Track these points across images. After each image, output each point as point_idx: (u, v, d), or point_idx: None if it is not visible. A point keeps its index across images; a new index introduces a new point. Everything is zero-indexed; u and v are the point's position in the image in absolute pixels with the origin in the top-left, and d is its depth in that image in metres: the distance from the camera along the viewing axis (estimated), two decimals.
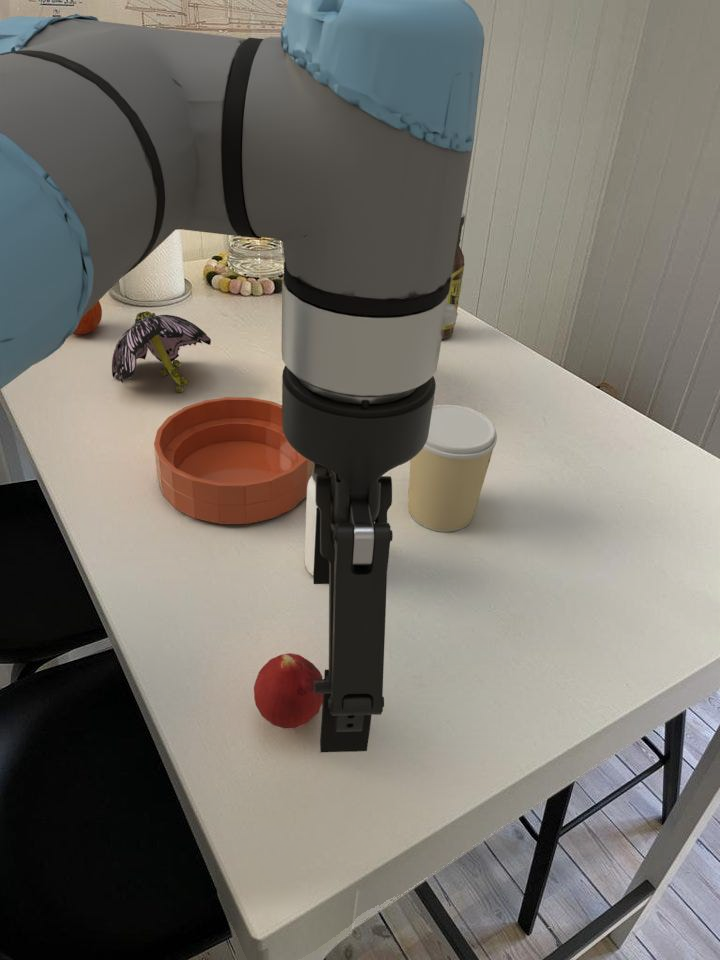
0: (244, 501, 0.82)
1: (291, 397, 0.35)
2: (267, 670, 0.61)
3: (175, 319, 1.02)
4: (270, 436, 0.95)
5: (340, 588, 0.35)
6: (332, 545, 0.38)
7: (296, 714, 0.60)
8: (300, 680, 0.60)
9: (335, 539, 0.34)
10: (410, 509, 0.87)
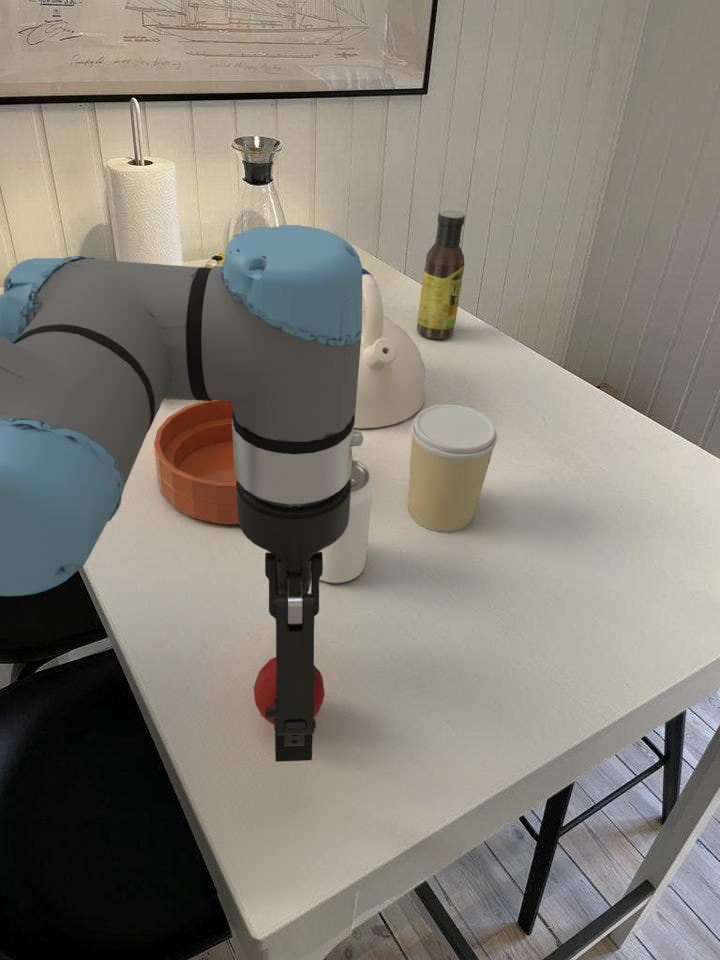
0: None
1: (242, 501, 0.48)
2: (267, 670, 0.61)
3: None
4: None
5: (279, 642, 0.48)
6: None
7: None
8: None
9: (274, 606, 0.47)
10: (410, 509, 0.87)
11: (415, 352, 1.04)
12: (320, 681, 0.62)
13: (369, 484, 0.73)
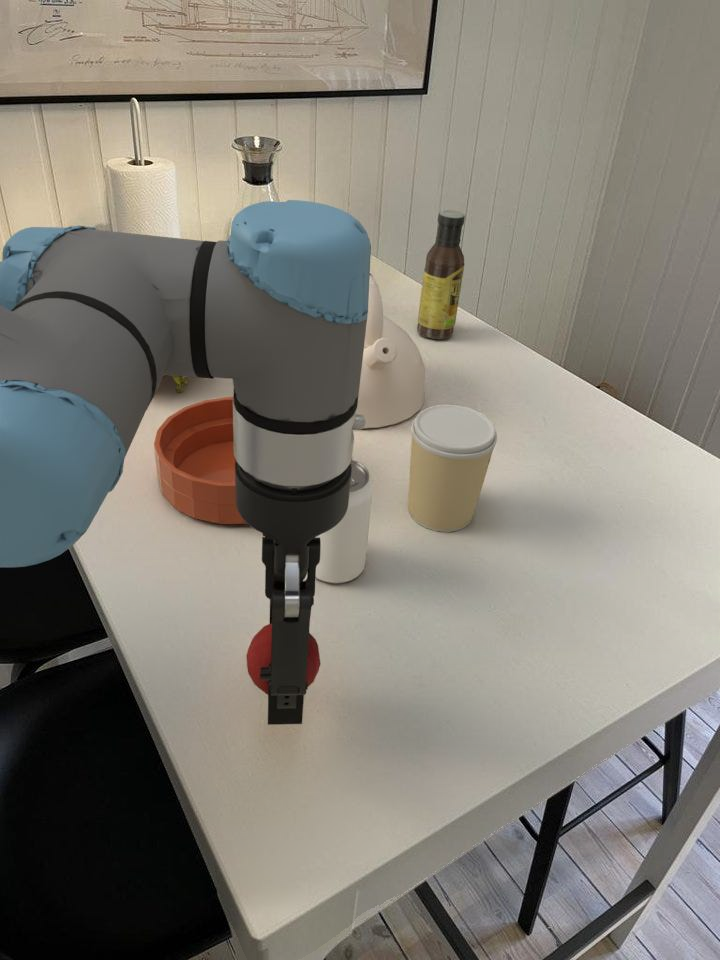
0: None
1: (240, 483, 0.47)
2: (261, 637, 0.58)
3: None
4: None
5: (275, 630, 0.49)
6: (273, 589, 0.51)
7: None
8: None
9: (271, 605, 0.47)
10: (410, 509, 0.87)
11: (415, 352, 1.04)
12: (316, 649, 0.59)
13: (369, 484, 0.73)
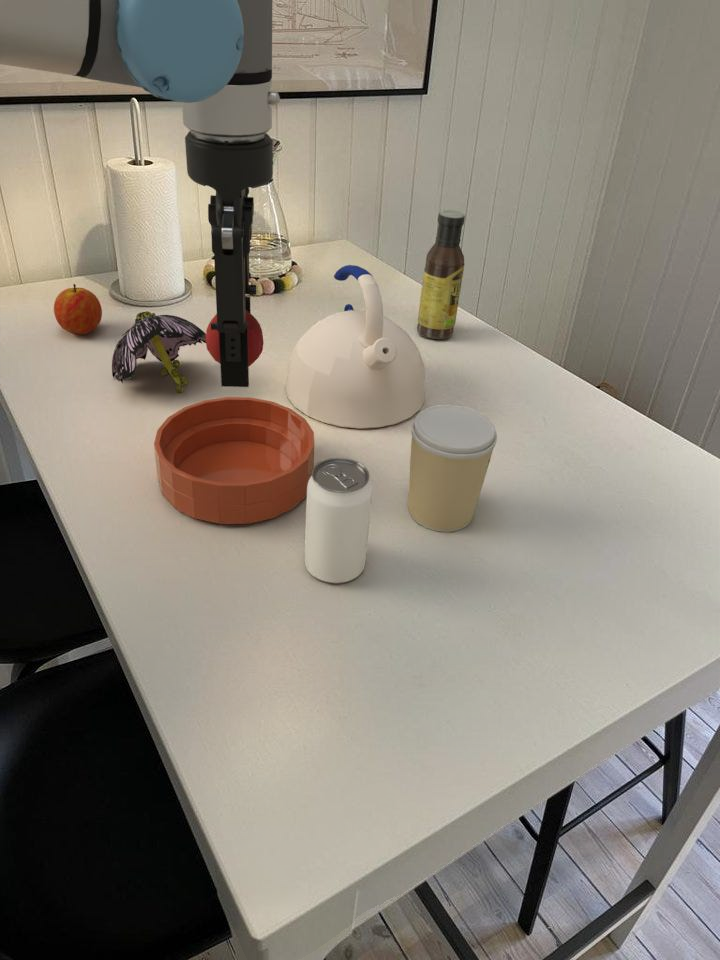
0: (244, 501, 0.82)
1: (188, 144, 0.64)
2: (215, 315, 0.75)
3: (175, 319, 1.02)
4: (270, 436, 0.95)
5: (217, 262, 0.65)
6: None
7: None
8: None
9: (212, 234, 0.64)
10: (410, 509, 0.87)
11: (415, 352, 1.04)
12: (259, 328, 0.76)
13: (369, 484, 0.73)
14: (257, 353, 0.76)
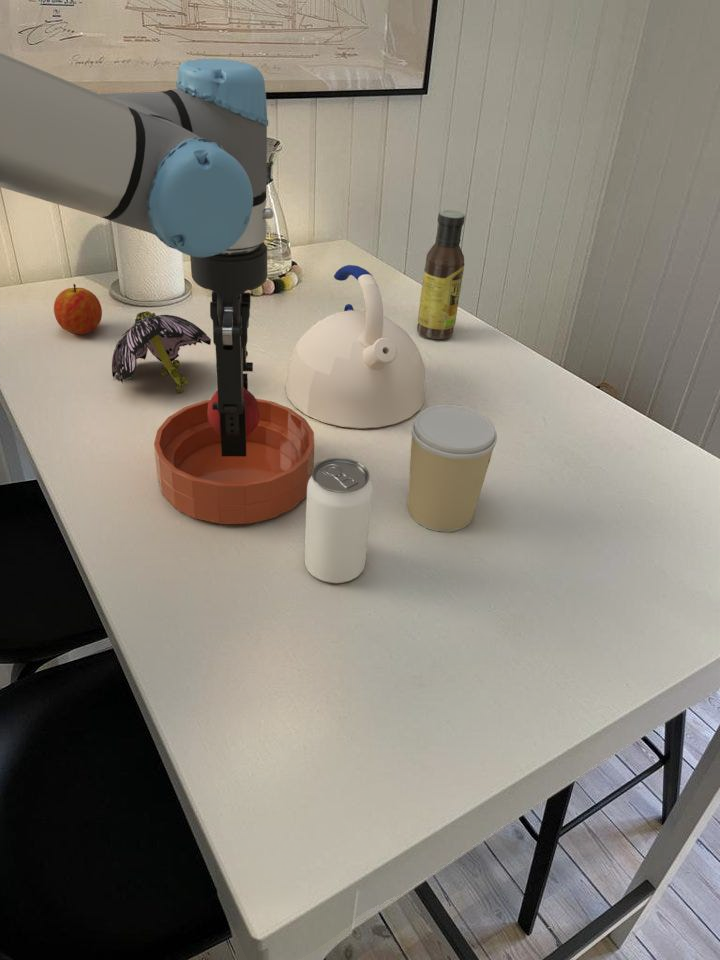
0: (244, 501, 0.82)
1: None
2: (216, 393, 0.84)
3: (175, 319, 1.02)
4: (270, 436, 0.95)
5: (218, 356, 0.74)
6: None
7: None
8: None
9: (214, 333, 0.72)
10: (410, 509, 0.87)
11: (415, 352, 1.04)
12: (255, 403, 0.84)
13: (369, 484, 0.73)
14: (254, 426, 0.85)
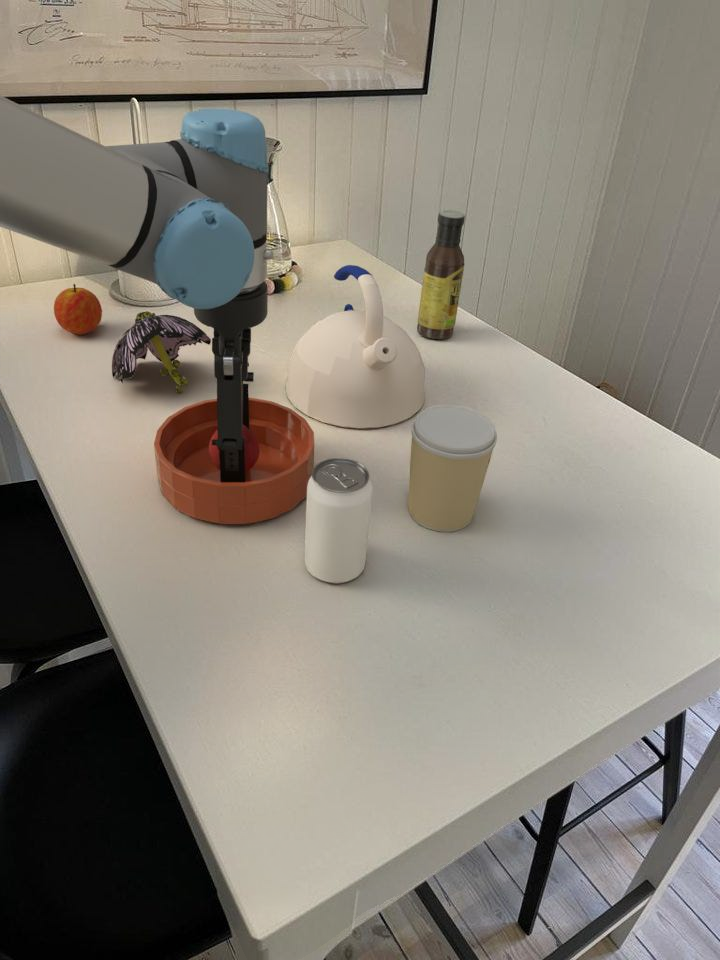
0: (244, 501, 0.82)
1: None
2: None
3: (175, 319, 1.02)
4: (270, 436, 0.95)
5: (218, 387, 0.75)
6: None
7: None
8: None
9: (215, 362, 0.74)
10: (410, 509, 0.87)
11: (415, 352, 1.04)
12: (255, 440, 0.87)
13: (369, 484, 0.73)
14: (254, 462, 0.88)
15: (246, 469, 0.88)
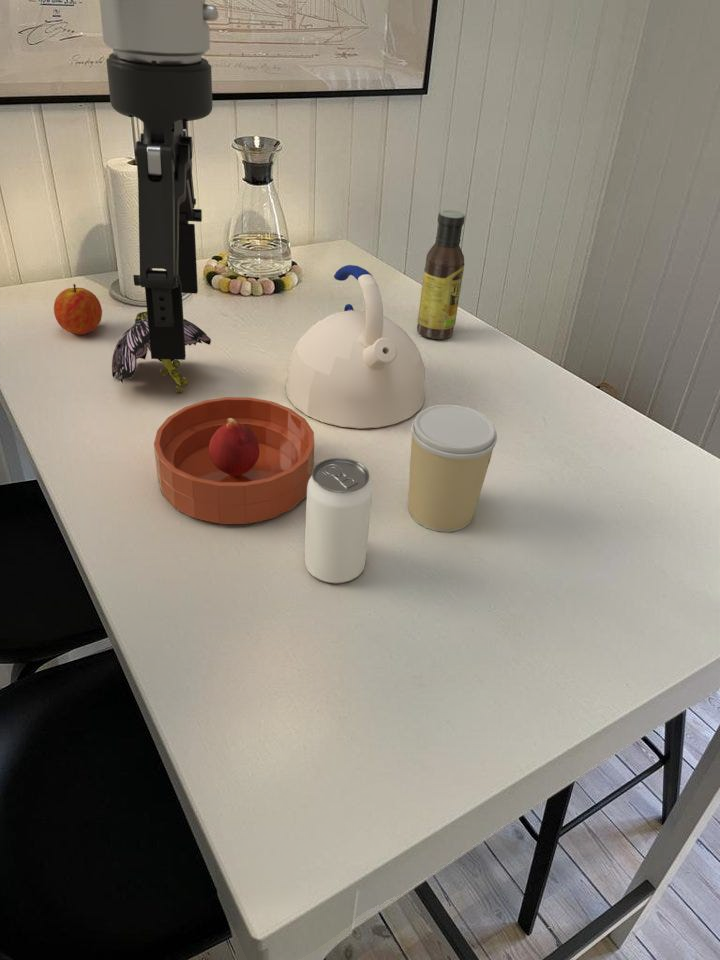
0: (244, 501, 0.82)
1: (109, 66, 0.54)
2: (217, 431, 0.87)
3: None
4: (270, 436, 0.95)
5: (141, 191, 0.54)
6: None
7: (237, 458, 0.86)
8: (240, 435, 0.86)
9: (135, 153, 0.53)
10: (410, 509, 0.87)
11: (415, 352, 1.04)
12: (255, 440, 0.87)
13: (369, 484, 0.73)
14: (254, 462, 0.88)
15: (246, 469, 0.88)
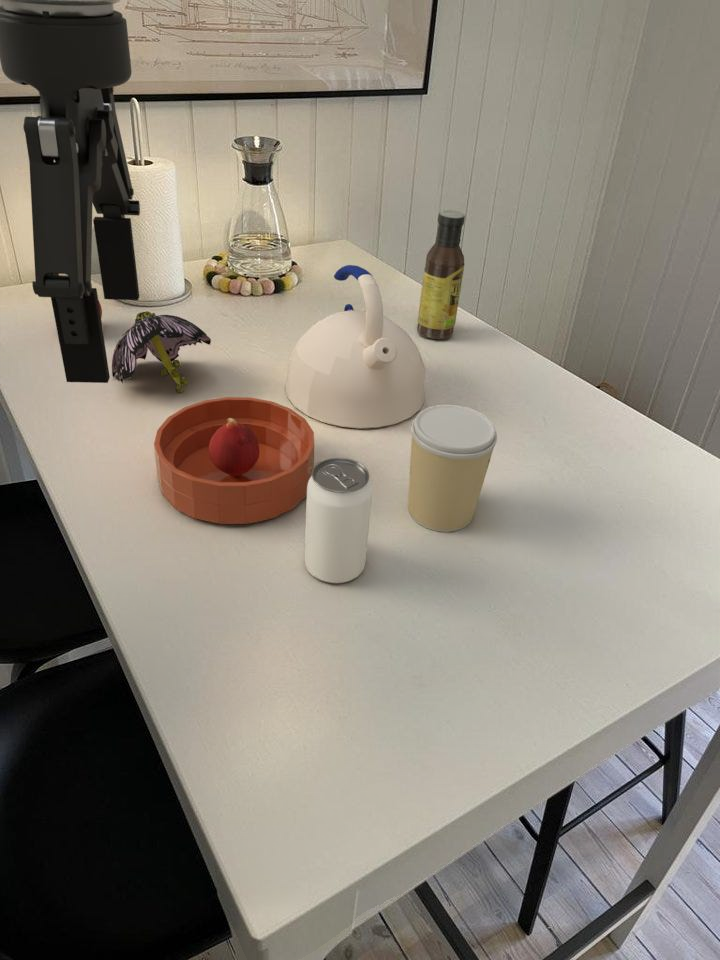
0: (244, 501, 0.82)
1: None
2: (217, 431, 0.87)
3: (175, 319, 1.02)
4: (270, 436, 0.95)
5: (33, 176, 0.43)
6: None
7: (237, 458, 0.86)
8: (240, 435, 0.86)
9: None
10: (410, 509, 0.87)
11: (415, 352, 1.04)
12: (255, 440, 0.87)
13: (369, 484, 0.73)
14: (254, 462, 0.88)
15: (246, 469, 0.88)
